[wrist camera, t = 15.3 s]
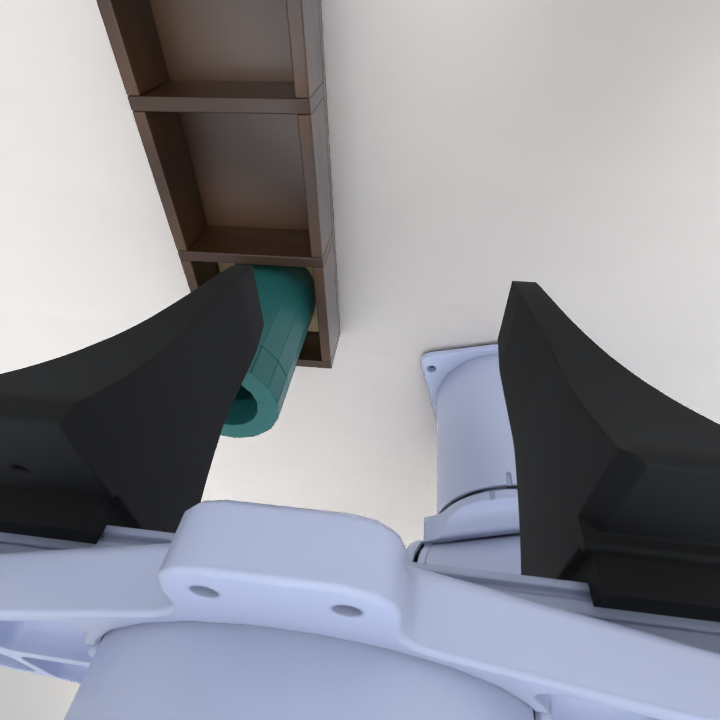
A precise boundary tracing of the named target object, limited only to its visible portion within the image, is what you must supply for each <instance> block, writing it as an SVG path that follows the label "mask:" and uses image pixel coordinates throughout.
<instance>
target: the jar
mask: <svg viewBox="0 0 720 720" xmlns="http://www.w3.org/2000/svg"><path fill="white" fill-rule="evenodd" d="M234 266H247V267H253V271H254V276H255V281H256V285H257V290H258V295H259V300H260V305H261V310H262V315H263V320H264V327H263V330H262V334H261V338H260V341H259V345H258V348H257V351H256V354H255V356H254V358H253V360H252V363H251V365H250V367H249V369H248V372H247V374H246V376H245V378H244V380H243V382H242V384H241V387H240V389H239V391H238V393H237V395H236V397H235V399H234V402H233V404H232V406H231V408H230V410H229V413H228V415H227V418H226V420H225V422H224V425H223V428H222V431H221V434H220V435H223V436H229V437H234V438H236V437H237V438H241V437H253V436H255V435H259V434H261V433H263V432H265V431H268V430H269V429H271V428H272V426H273V425H274V423H275V422H276V421H277V419H278V417H279V414H280V411H281V408H282V405H283V402H284V399H285V396H286V393H287V390H288V387H289V384H290V381H291V379H292V376H293V373H294V370H295V367H296V364H297V361H298V358H299V355H300V352H301V349H302V346H303V343H304V340H305V337H306V334H307V331H308V328H309V325H310V322H311V319H312V316H313V313H314V310H315V305H316V298H315V288H314V280H313V277H312V276H311V274H310V273H309V271H308V270H307V269H306V268H305V267H295V266H277V265H258V264H240V263H235V265H234Z"/></svg>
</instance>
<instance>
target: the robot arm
mask: <svg viewBox="0 0 720 720" xmlns="http://www.w3.org/2000/svg"><path fill="white" fill-rule="evenodd" d="M263 327H264V320H263V315H262V310H261V305H260V300H259V295H258V290H257V285H256V281H255V276H254V271H253V267H247V266H231V267H229V268H227V269H225V270H224V271H222V272H221V273H219V274H218V275H216V276H215V277H213V278H212V279H210V280H209V281H207V282H206V283H204V284H203V285H201V286H200V287H198V288H197V289H195V290H194V291H192V292H191V293H189V294H188V295H186V296H185V297H183V298H182V299H180V300H179V301H177V302H175V303H174V304H172V305H171V306H169V307H167V308H166V309H164V310H162V311H161V312H159V313H157V314H156V315H154V316H152V317H151V318H149V319H147V320H145V321H143V322H142V323H140V324H138V325H136V326H134V327H132V328H130V329H128V330H126V331H124V332H122V333H120V334H117V335H115V336H113V337H111V338H108V339H106V340H103V341H101V342H98V343H96V344H94V345H91V346H89V347H86V348H84V349H81V350H79V351H76V352H73V353H70V354H68V355H65V356H62V357H59V358H56V359H53V360H50V361H46V362H43V363H40V364H37V365H33V366H30V367H26V368H23V369H19V370H15V371H11V372H7V373H3V374H0V666H1V667H6V668H10V669H15V670H20V671H24V672H29V673H33V674H38V675H43V676H47V677H51V678H56V679H61V680H66V681H70V682H74V683H79V684H81V685H80V687H79V689H78V691H77V693H76V695H75V697H74V699H73V701H72V703H71V705H70V708H69V710H68V712H67V714H66V716H65V718H64V720H720V425H719V424H717V423H715V422H713V421H711V420H710V419H708V418H706V417H704V416H702V415H700V414H698V413H696V412H694V411H692V410H691V409H689V408H687V407H685V406H683V405H682V404H680V403H678V402H676V401H675V400H673V399H671V398H670V397H668V396H666V395H665V394H663V393H662V392H660V391H658V390H657V389H655V388H654V387H652V386H651V385H649V384H647V383H646V382H644V381H643V380H641V379H640V378H639V377H637V376H636V375H634V374H633V373H631V372H630V371H629V370H627V369H626V368H625V367H624V366H622V365H621V364H620V363H618V362H617V361H616V360H614V359H613V358H612V357H610V356H609V355H608V354H607V353H606V352H604V351H603V350H602V349H601V348H600V347H599V346H598V345H597V344H595V343H594V342H593V341H592V340H591V339H590V338H589V337H588V336H587V335H586V334H584V333H583V332H582V331H581V330H580V329H579V328H578V327H577V326H576V325H575V324H574V323H573V322H572V321H571V320H570V319H569V318H568V316H567V315H566V314H565V313H564V312H563V311H562V310H561V309H560V308H559V307H558V306H557V305H556V304H555V302H554V301H553V300H552V299H551V298H550V297H549V296H548V295H547V294H546V292H545V291H544V290H543V289H542V288H541V287H540V286H539V285H538V284H537V283H536V282H520V281H512V285H511V289H510V293H509V297H508V301H507V305H506V309H505V313H504V317H503V321H502V325H501V329H500V333H499V337H498V344H493V345H484V346H476V347H468V348H460V349H452V350H444V351H436V352H428V353H425V354H424V355H423V356H422V357H421V364H422V368H423V372H424V376H425V380H426V383H427V387H428V391H429V395H430V399H431V403H432V407H433V411H434V415H435V418H436V422H437V515H435V516H431V517H426V518H425V519H424V540H420V541H415V542H413V543H411V544H410V545H409V546H408V547H407V549H405V547H404V545H403V542H402V540H401V538H400V536H399V535H398V534H397V533H396V532H395V531H394V530H392V529H390V528H389V527H387V526H385V525H384V524H382V523H380V522H379V521H377V520H374V519H370V518H366V517H362V516H358V515H354V514H349V513H340V512H331V511H322V510H313V509H304V508H295V507H286V506H277V505H268V504H258V503H249V502H240V501H231V500H217V501H203V502H201V499H202V495H203V491H204V487H205V483H206V480H207V476H208V473H209V470H210V466H211V463H212V460H213V456H214V453H215V450H216V447H217V444H218V440H219V437H220V434H221V431H222V428H223V425H224V422H225V420H226V418H227V415H228V413H229V410H230V408H231V406H232V404H233V402H234V399H235V397H236V395H237V393H238V391H239V389H240V387H241V384H242V382H243V380H244V378H245V376H246V374H247V372H248V369H249V367H250V365H251V363H252V360H253V358H254V356H255V354H256V351H257V348H258V345H259V341H260V338H261V334H262V330H263ZM428 366H434V367H433V368H430V367H428ZM200 502H201V503H200Z"/></svg>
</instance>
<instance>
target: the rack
mask: <svg viewBox="0 0 720 720" xmlns="http://www.w3.org/2000/svg"><path fill="white" fill-rule="evenodd" d="M97 3H98V7H99V10H100V13H101V16H102V19H103V22H104V25H105V28H106V31H107V34H108V37H109V41H110V44H111V47H112V50H113V53H114V56H115V59H116V62H117V65H118V68H119V72H120V75H121V78H122V81H123V84H124V87H125V90H126V93H127V95H129V96H128V100H129V103H130V106H131V109H132V111H134V112H133V115H134V118H135V121H136V124H137V127H138V130H139V133H140V136H141V140H142V143H143V146H144V149H145V152H146V155H147V158H148V161H149V164H150V167H151V170H152V174H153V177H154V180H155V183H156V186H157V189H158V192H159V195H160V198H161V201H162V204H163V208H164V211H165V214H166V217H167V220H168V223H169V226H170V229H171V232H172V235H173V239H174V242H175V245H176V248H177V250H178V254H179V257H180V260H181V263H182V266H183V269H184V273H185V276H186V279H187V282H188V285H189V288H190V291H191V292H192V291H194V290H195V289H197V288H198V287H200V286H201V285H203V284H204V283H206V282H207V281H209V280H210V279H212V278H213V277H215V276H216V275H218V274H219V273H221V272H222V271H224V270H225V269H227V268H229V267H231V266H234V265H235V263H240V264H258V265H277V266H295V267H305V268H306V269H307V270H308V271H309V273H310V274H311V276H312V277H313V280H314V288H315V298H316V305H315V310H314V313H313V316H312V319H311V322H310V325H309V328H308V331H307V334H306V337H305V340H304V343H303V346H302V349H301V352H300V355H299V358H298V361H297V364H296V366H305V367H318V368H332V364H333V360H334V356H335V352H336V348H337V344H338V340H339V336H340V320H339V303H338V286H337V269H336V252H335V235H334V218H333V201H332V184H331V167H330V150H329V133H328V116H327V99H326V82H325V65H324V48H323V31H322V14H321V0H97Z"/></svg>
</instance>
